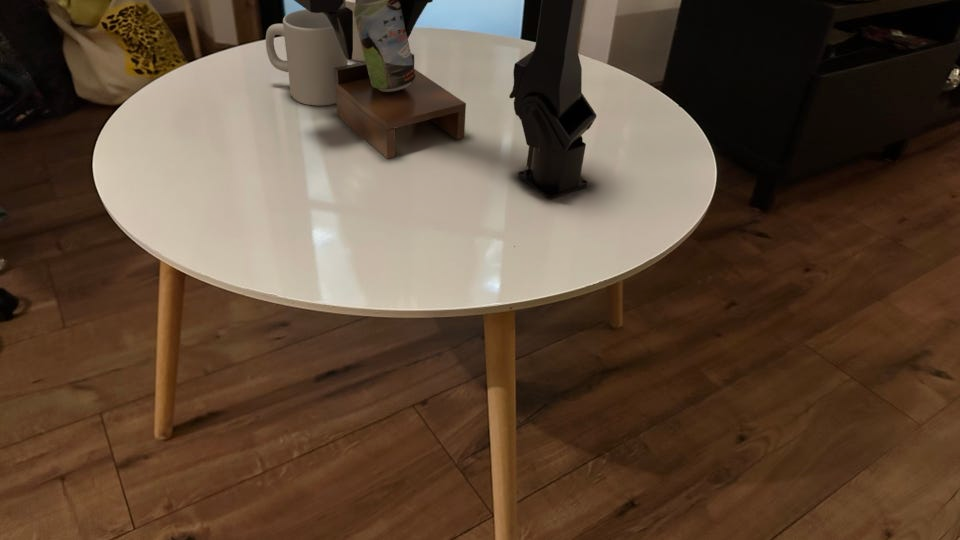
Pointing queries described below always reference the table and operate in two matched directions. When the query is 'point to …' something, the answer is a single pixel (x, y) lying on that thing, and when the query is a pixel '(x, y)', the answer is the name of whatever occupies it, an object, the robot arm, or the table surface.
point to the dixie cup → (355, 35)
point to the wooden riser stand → (394, 106)
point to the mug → (308, 56)
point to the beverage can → (384, 44)
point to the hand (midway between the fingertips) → (374, 53)
